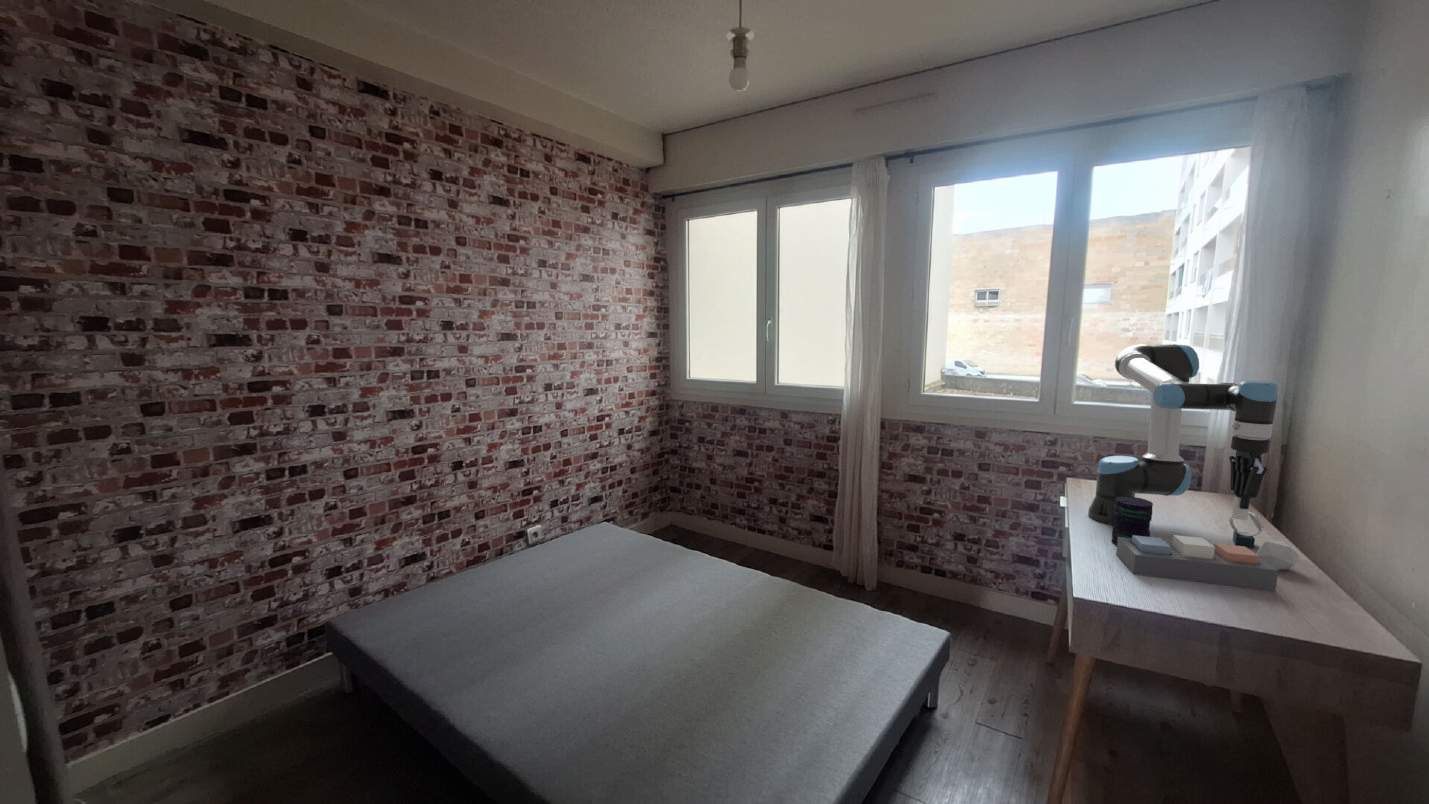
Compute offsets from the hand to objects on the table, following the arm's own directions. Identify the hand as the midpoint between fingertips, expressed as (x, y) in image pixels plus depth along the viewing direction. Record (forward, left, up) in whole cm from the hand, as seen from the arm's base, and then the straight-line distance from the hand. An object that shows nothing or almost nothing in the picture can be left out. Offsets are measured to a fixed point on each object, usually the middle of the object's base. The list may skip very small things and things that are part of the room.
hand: (1239, 518), depth 152 cm
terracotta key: (0, 0, -14) cm, 14 cm away
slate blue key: (0, -20, -14) cm, 24 cm away
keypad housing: (0, -10, -17) cm, 20 cm away
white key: (0, -10, -13) cm, 16 cm away
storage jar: (-18, -19, -18) cm, 31 cm away
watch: (-30, +16, -18) cm, 38 cm away
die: (-11, +15, -18) cm, 26 cm away
